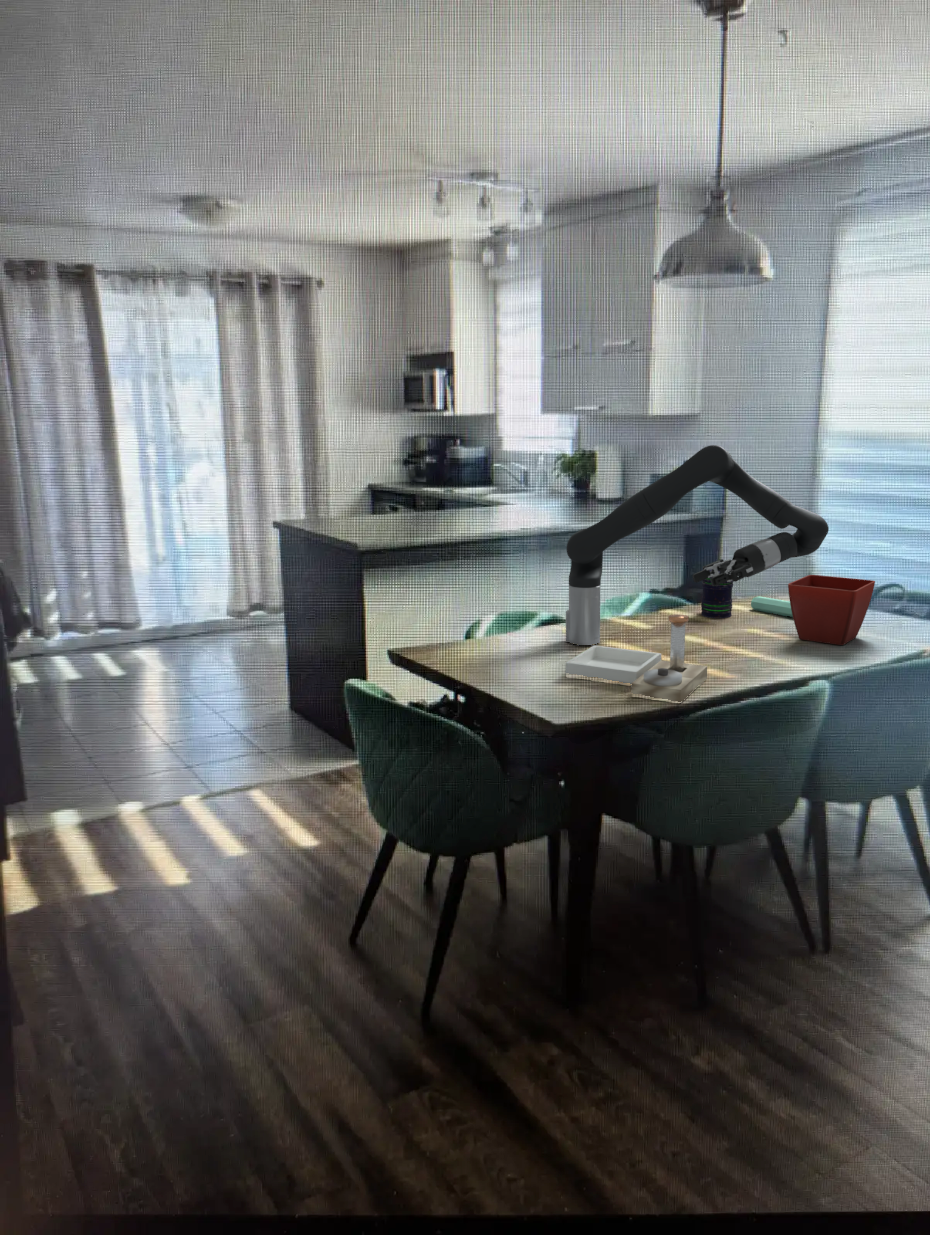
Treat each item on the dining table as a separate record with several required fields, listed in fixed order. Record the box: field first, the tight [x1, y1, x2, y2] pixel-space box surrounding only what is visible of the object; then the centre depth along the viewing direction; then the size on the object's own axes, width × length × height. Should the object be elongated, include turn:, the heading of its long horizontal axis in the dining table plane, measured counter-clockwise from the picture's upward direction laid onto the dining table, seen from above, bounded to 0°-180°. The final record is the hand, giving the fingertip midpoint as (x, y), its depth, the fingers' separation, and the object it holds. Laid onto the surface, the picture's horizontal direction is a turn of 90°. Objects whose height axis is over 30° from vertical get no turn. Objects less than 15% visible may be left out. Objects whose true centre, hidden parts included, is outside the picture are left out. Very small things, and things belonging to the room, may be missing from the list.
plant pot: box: [787, 574, 876, 646], centre depth 266 cm, size 19×19×17 cm
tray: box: [565, 644, 662, 684], centre depth 238 cm, size 19×19×4 cm
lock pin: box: [668, 613, 689, 672], centre depth 227 cm, size 5×5×17 cm
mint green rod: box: [750, 596, 793, 618], centre depth 297 cm, size 6×6×25 cm
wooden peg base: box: [630, 659, 708, 702], centre depth 224 cm, size 12×22×6 cm, turn 150°
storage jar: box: [700, 569, 734, 619], centre depth 298 cm, size 10×10×15 cm
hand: (702, 580), depth 228 cm, fingers open, 8 cm apart
